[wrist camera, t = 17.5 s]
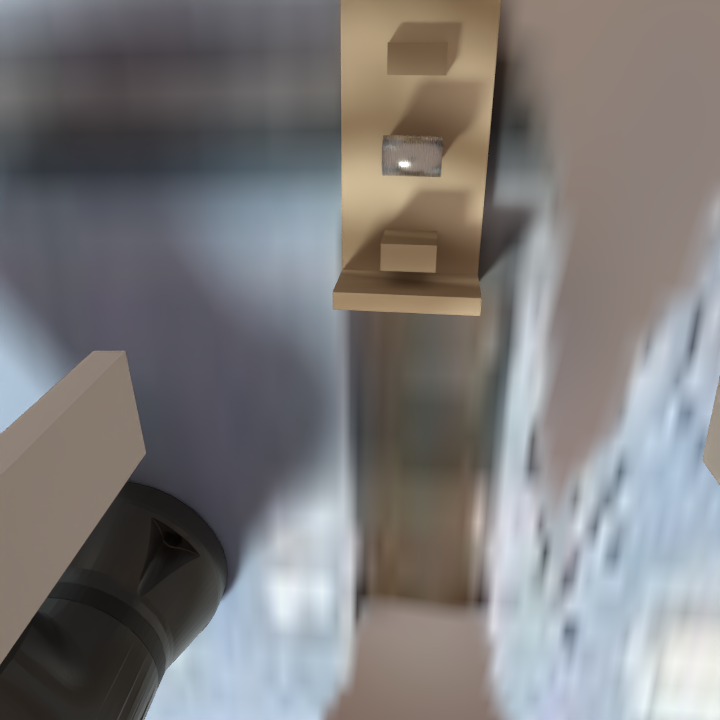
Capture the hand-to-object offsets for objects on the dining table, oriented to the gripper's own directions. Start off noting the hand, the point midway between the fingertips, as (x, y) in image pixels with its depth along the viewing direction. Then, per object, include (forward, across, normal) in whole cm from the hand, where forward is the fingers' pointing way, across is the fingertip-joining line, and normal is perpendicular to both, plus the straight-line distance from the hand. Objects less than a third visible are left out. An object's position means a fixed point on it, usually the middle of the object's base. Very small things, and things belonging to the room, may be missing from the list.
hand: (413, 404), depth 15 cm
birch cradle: (+26, 0, -2) cm, 26 cm away
